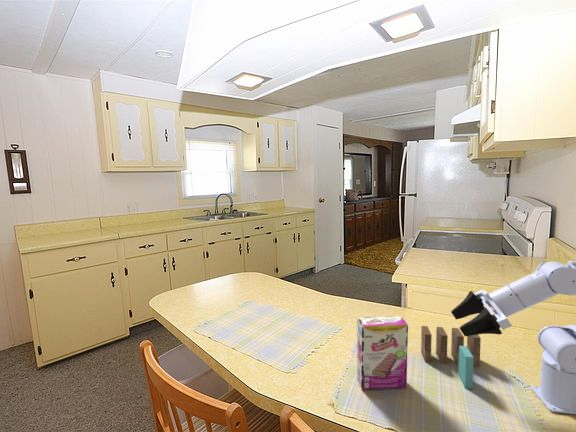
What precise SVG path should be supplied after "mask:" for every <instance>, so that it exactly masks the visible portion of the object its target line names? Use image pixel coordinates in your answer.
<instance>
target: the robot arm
mask: <svg viewBox="0 0 576 432" xmlns="http://www.w3.org/2000/svg"><path fill="white" fill-rule="evenodd" d="M559 294H560V295H564V296H574V295H576V260H569V261H568V262H567V263H565V264H564V263H562V262H560V261H559V262H558V261H548V262H545V261H543V262H541V263H539V264H538V266H537V267H536V270H535V271H534V272H532V273H531V274H527V275H525V276H523V277H521V278H519V279H517V280H515V281H513V282H511V283H508V284H506V285H505V286H502V287H500V288H498V289H496V290H494V291H491V292H490V293H488V292H487V291H486V290H484V289H480V290H478V291H476V292H475V293H474V292H473V291H472V290H471V291H469V292H468V294H467V295H466V297H465V298H464V299H463V300H462V301H461V302H460V303H459V304H458V305H456V307H454V308H453V309H452V310H451V311H450V313H451V314H452V316H453V317H454V319H455V320H460V319H463V318H466V317H469V316H473V315H476V316H474V318H472V319H470V320H469V321H467V322H465V323H464V324H462V325H461V326H460V327H459V330H460V332H461V333H462V335H463V336H464V337H467V336H472V335H489V334H490V335H499V336H500V335H501V334H503V332H502V330H503V331H504V330H506V329H508V328H511V327H512V326H513V325H512V323H511V322H510V320H509V319H508V317H510V316H512V315H515V314H516V313H519V312H521V311H524V310H526V309H528V308H530V307H532V306H535V305H537V304H539V303H542V302H545V301H546V300H548V299H550V298H553V297H555V296H557V295H559ZM501 329H502V330H501ZM537 341H538V344H539V345H540V346H541V347H542V348H543V350H542V351H543V352H542V355H541V367H540V368H541V369H540V383H539V384H540V385H539V386H535V385H532V386H530V389H531V390H532V391H533V393H535V395H536V397H538V399H540V401H541V402H542V403H543V404H544V405H545V407H547V409H548V410H549V411H550V412H552V413H553V412H554V413H563V414H571V415H576V325H575V324H567V325H561V326H560V325H555V324H554V325H552V324H551V325H548V326H544V327H543V328H541V329H540V330H539V331H538V334H537Z"/></svg>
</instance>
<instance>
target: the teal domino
mask: <svg viewBox="0 0 576 432" xmlns="http://www.w3.org/2000/svg"><path fill="white" fill-rule="evenodd" d="M457 375H459V376H458V378H459V377H460V378H459V380H460V379H461V380H460V381H462V382H461V384H462V386H463V388H464V389H467V388H472V389H473V387H474V385H473V383H474V382H473V381H474V380H473V377H474V366H473V356H472V354H471V353H470V351H469V350H468V348H467V345H464V346H459V365H458V374H457Z"/></svg>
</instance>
